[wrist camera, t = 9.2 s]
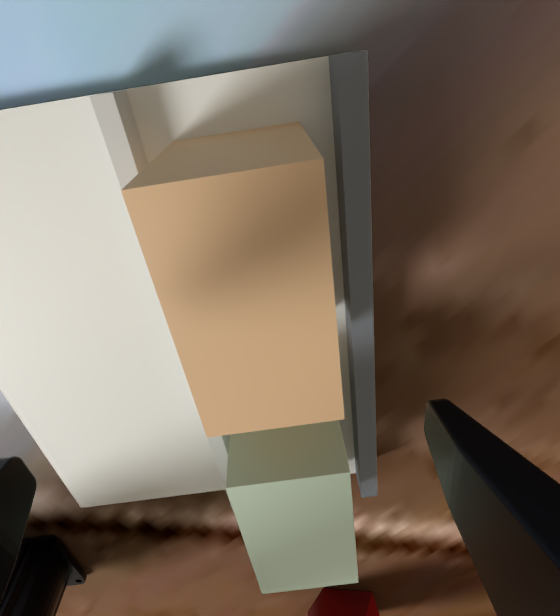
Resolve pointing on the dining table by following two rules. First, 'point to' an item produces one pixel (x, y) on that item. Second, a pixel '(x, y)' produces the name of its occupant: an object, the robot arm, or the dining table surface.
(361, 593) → the french fries
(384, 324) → the dining table surface
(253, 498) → the sage tea box
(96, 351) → the shelf
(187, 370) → the ochre tea box
